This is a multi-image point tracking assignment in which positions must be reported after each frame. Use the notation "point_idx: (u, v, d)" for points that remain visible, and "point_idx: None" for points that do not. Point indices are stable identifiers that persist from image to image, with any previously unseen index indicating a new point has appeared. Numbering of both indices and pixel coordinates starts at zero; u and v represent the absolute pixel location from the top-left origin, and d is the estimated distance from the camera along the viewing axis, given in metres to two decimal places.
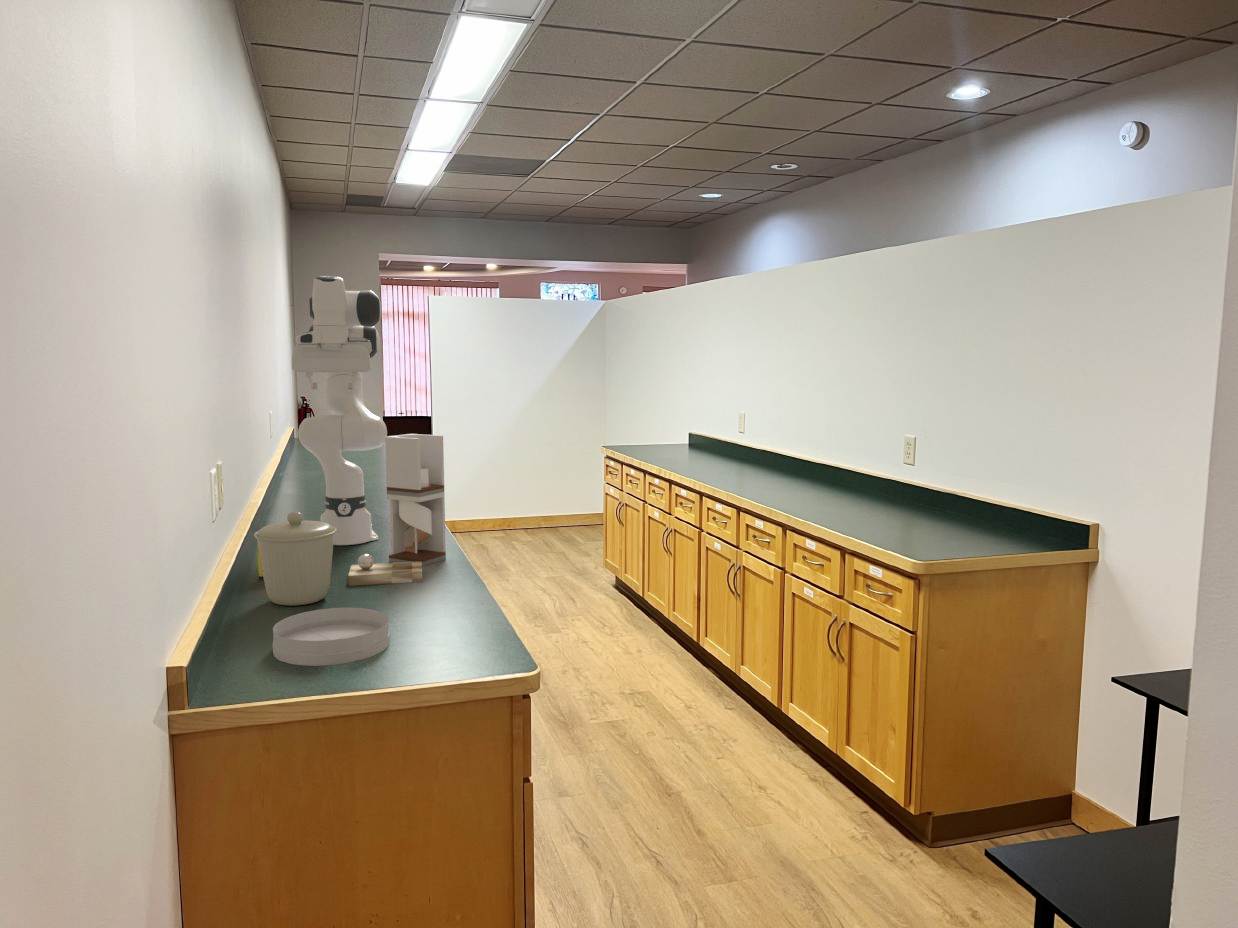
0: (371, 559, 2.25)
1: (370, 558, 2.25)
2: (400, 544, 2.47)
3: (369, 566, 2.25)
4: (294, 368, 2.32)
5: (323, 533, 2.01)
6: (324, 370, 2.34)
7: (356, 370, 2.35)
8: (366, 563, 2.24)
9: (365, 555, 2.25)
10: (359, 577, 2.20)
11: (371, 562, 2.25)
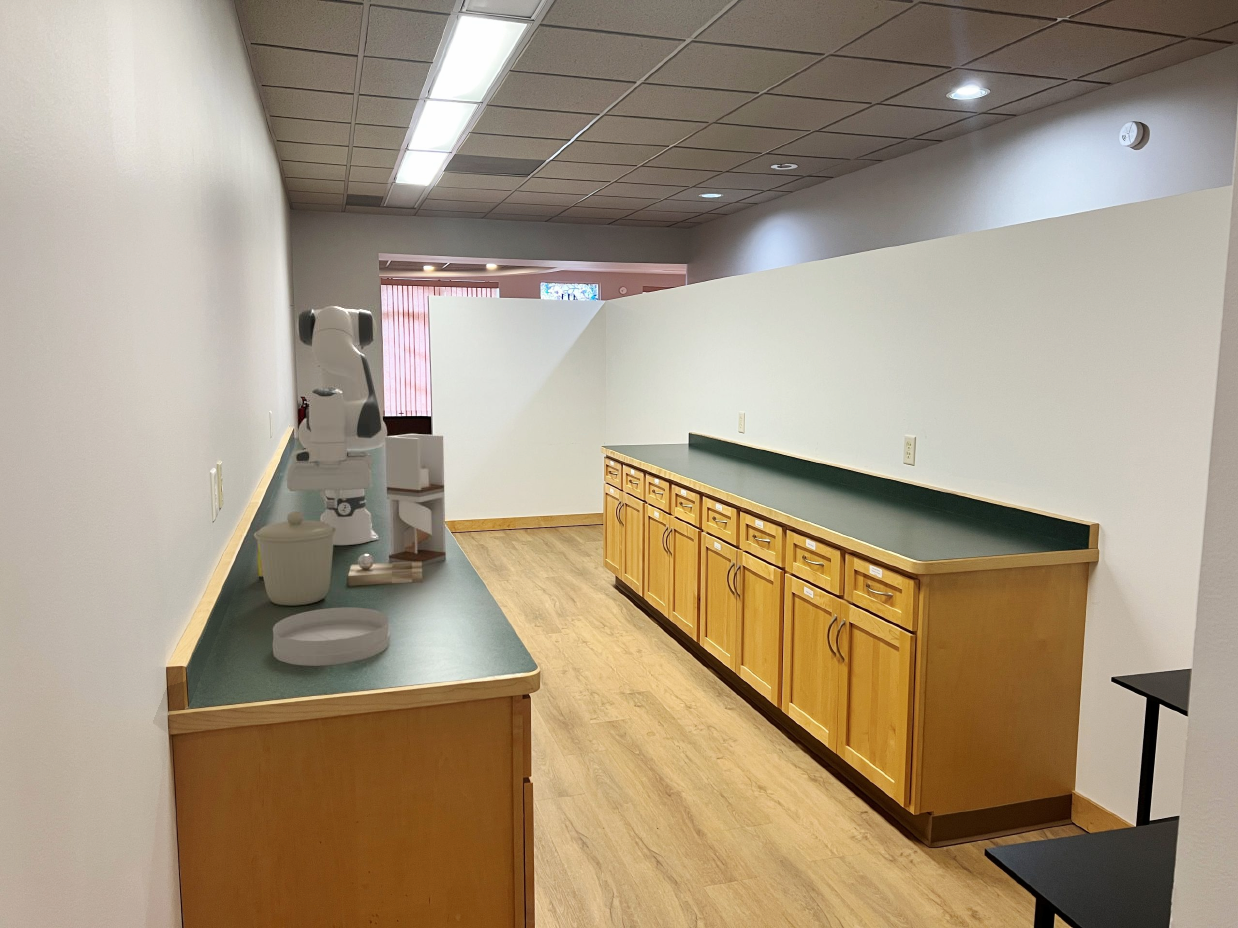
0: (371, 559, 2.25)
1: (370, 558, 2.25)
2: (400, 544, 2.47)
3: (369, 566, 2.25)
4: (290, 487, 2.17)
5: (323, 533, 2.01)
6: (322, 488, 2.19)
7: (356, 487, 2.21)
8: (366, 563, 2.24)
9: (365, 555, 2.25)
10: (359, 577, 2.20)
11: (371, 562, 2.25)
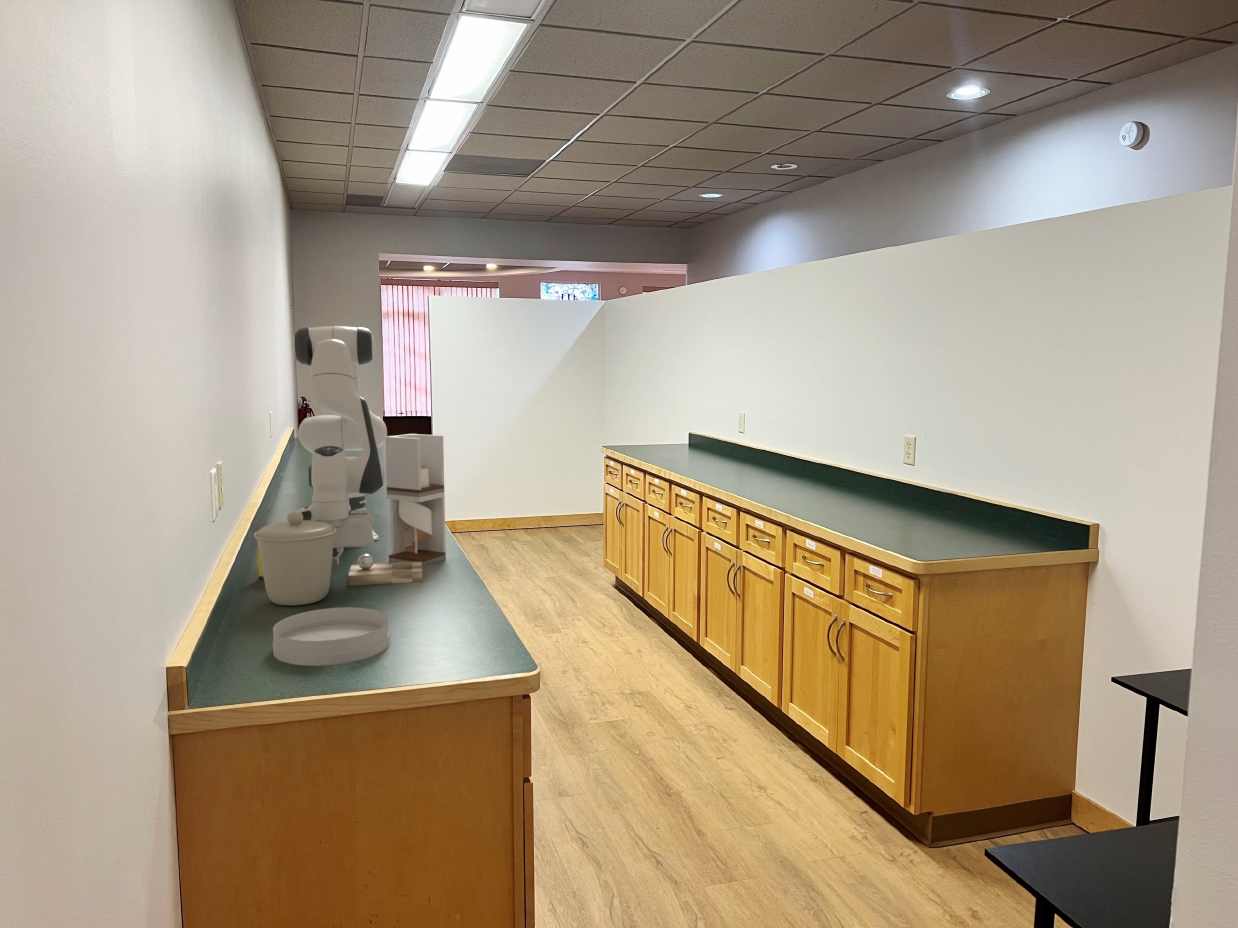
0: (371, 559, 2.25)
1: (370, 558, 2.25)
2: (400, 544, 2.47)
3: (369, 566, 2.25)
4: None
5: (323, 533, 2.01)
6: None
7: (358, 545, 2.23)
8: (366, 563, 2.24)
9: (365, 555, 2.25)
10: (359, 577, 2.20)
11: (371, 562, 2.25)
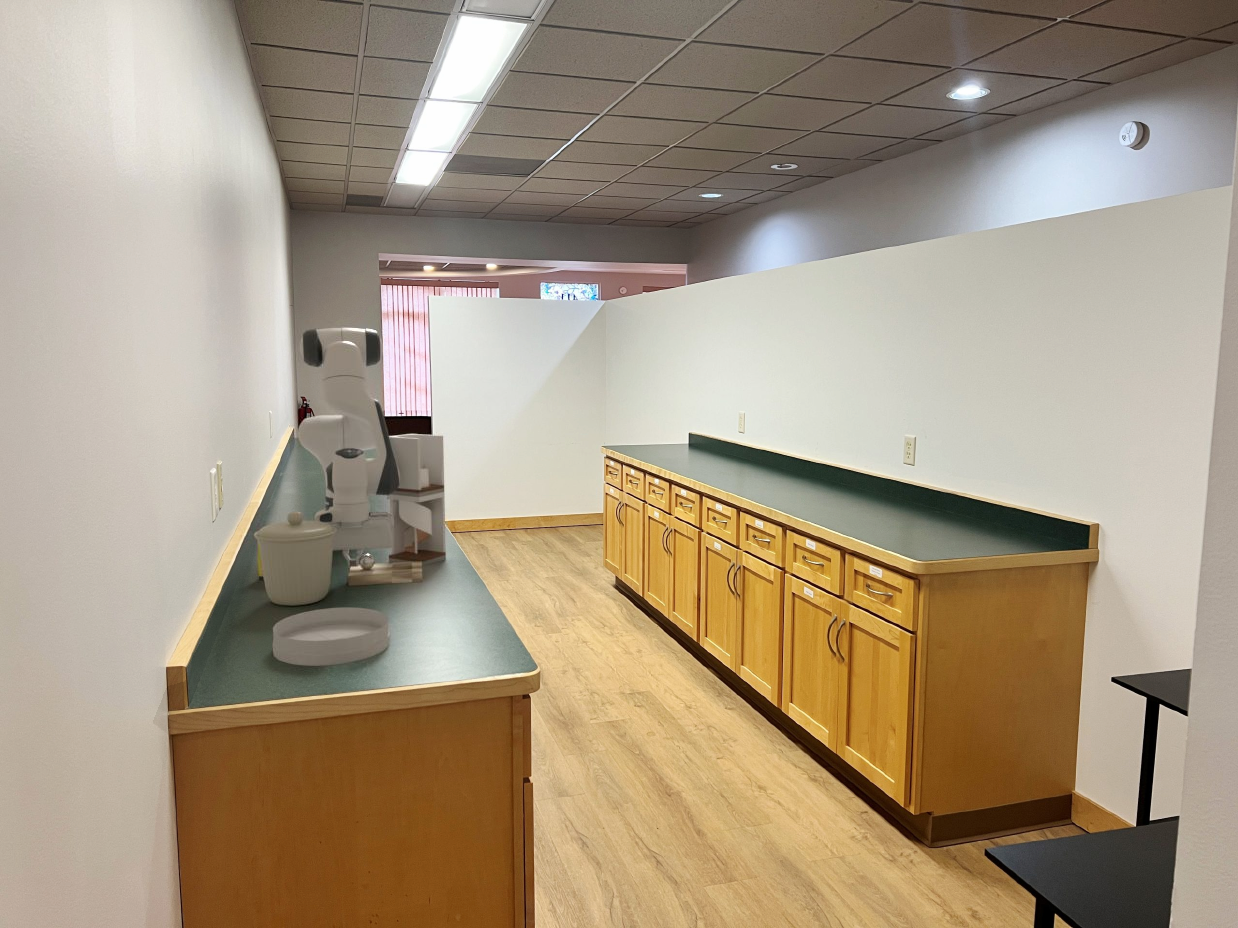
0: (373, 560, 2.25)
1: (372, 559, 2.25)
2: (400, 544, 2.47)
3: (370, 567, 2.25)
4: None
5: (323, 533, 2.01)
6: (344, 548, 2.22)
7: (378, 547, 2.24)
8: (367, 563, 2.24)
9: (367, 555, 2.25)
10: (359, 577, 2.20)
11: (372, 563, 2.25)
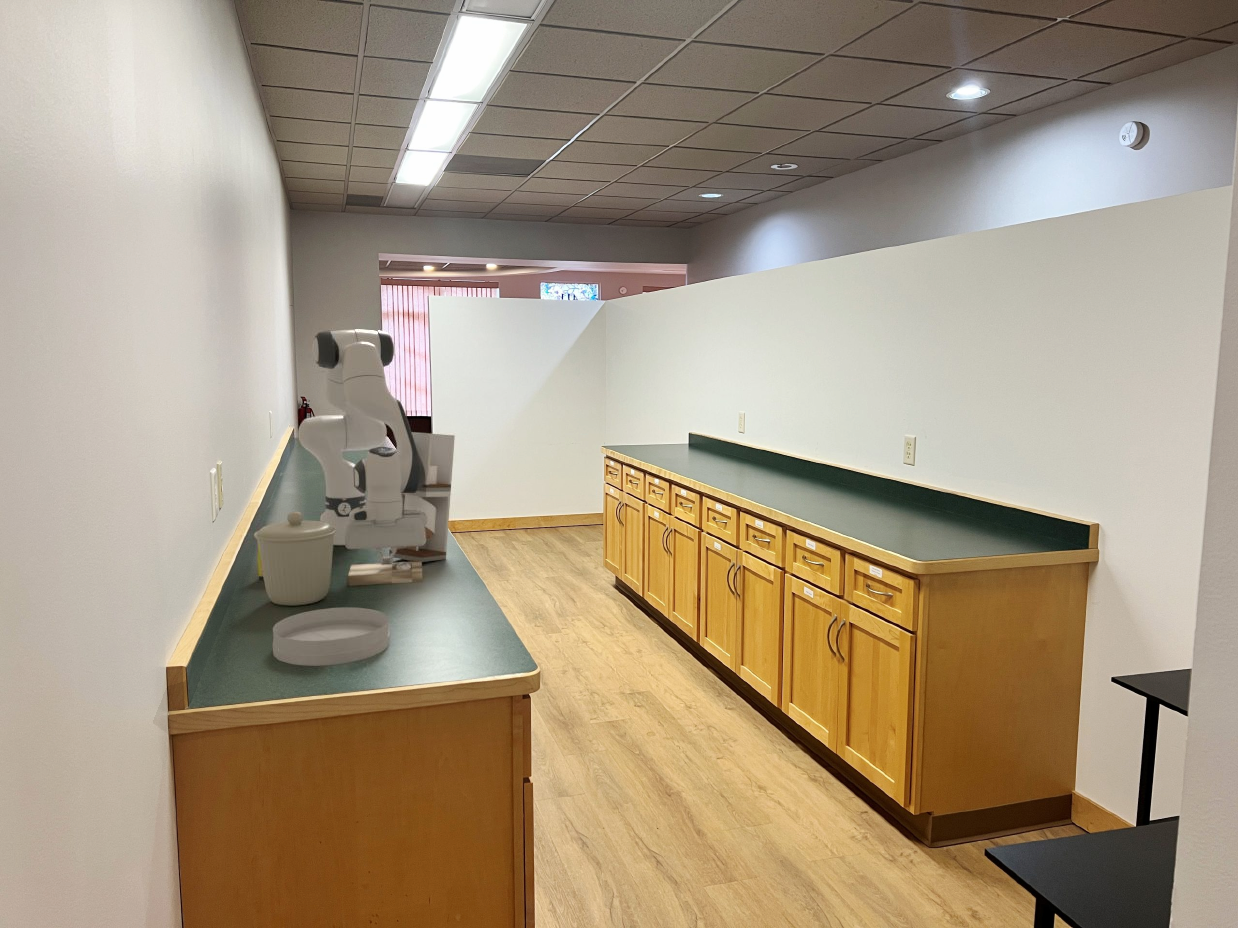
0: (406, 564, 2.27)
1: (404, 564, 2.27)
2: None
3: None
4: (347, 545, 2.22)
5: (323, 533, 2.01)
6: (378, 546, 2.24)
7: (411, 544, 2.26)
8: None
9: (398, 565, 2.27)
10: (359, 577, 2.20)
11: (408, 566, 2.27)
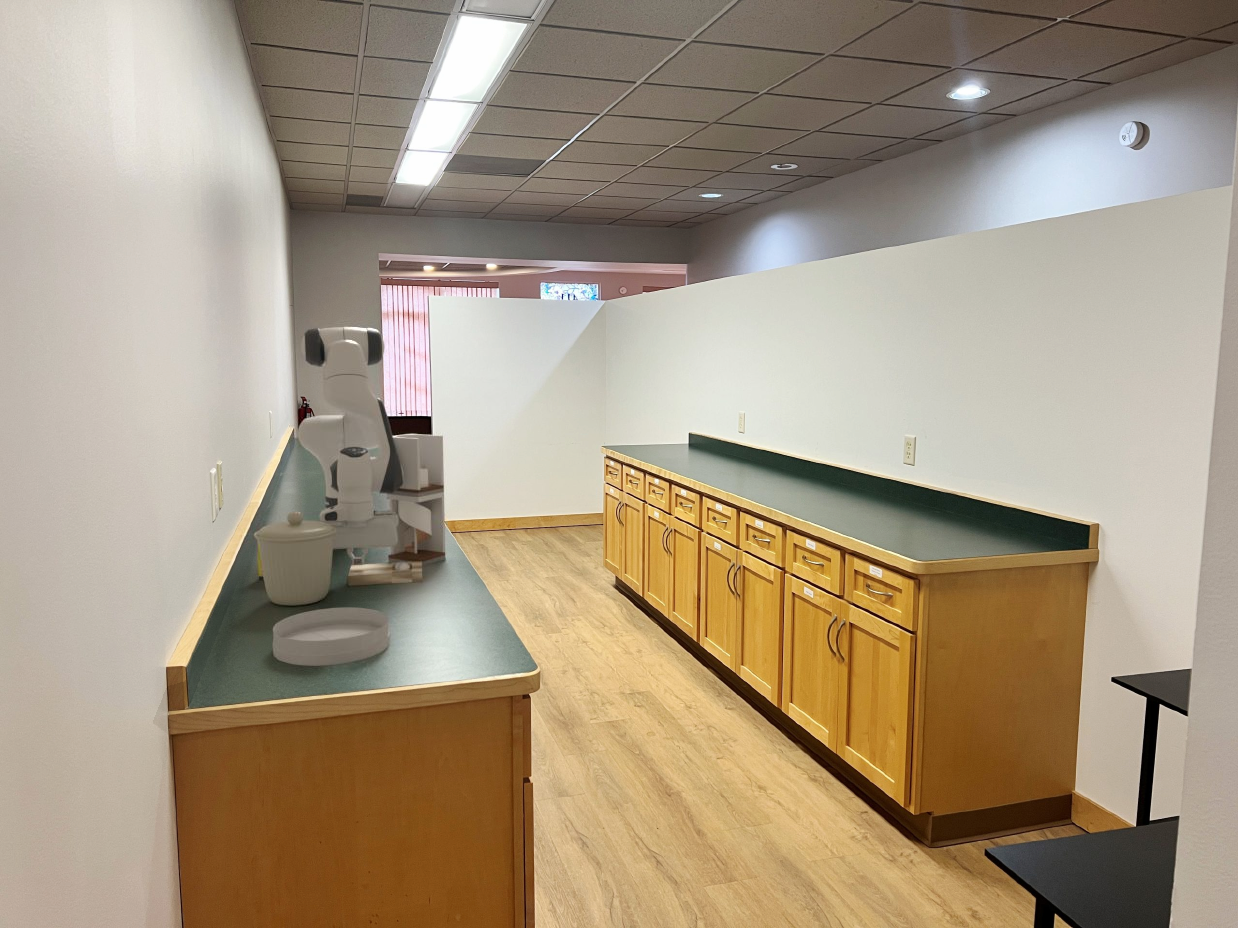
0: (403, 564, 2.27)
1: (402, 564, 2.27)
2: (400, 544, 2.47)
3: None
4: None
5: (323, 533, 2.01)
6: (349, 547, 2.23)
7: (382, 545, 2.25)
8: None
9: (396, 566, 2.27)
10: (359, 577, 2.20)
11: (405, 566, 2.27)
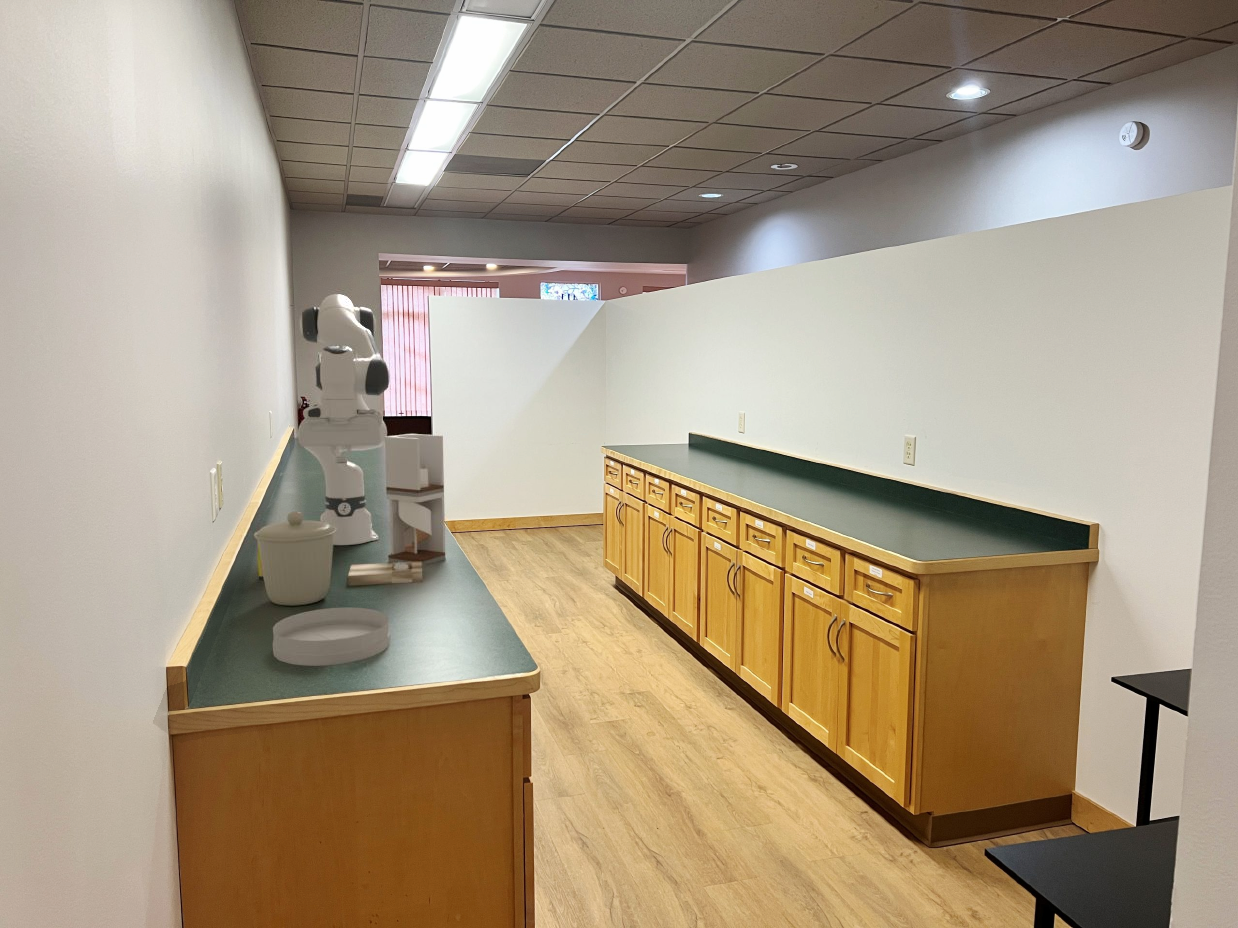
0: (401, 564, 2.27)
1: (399, 564, 2.27)
2: (400, 544, 2.47)
3: (406, 568, 2.27)
4: (301, 443, 2.23)
5: (323, 533, 2.01)
6: (332, 444, 2.25)
7: (366, 444, 2.27)
8: None
9: (394, 567, 2.27)
10: (359, 577, 2.20)
11: (403, 565, 2.27)
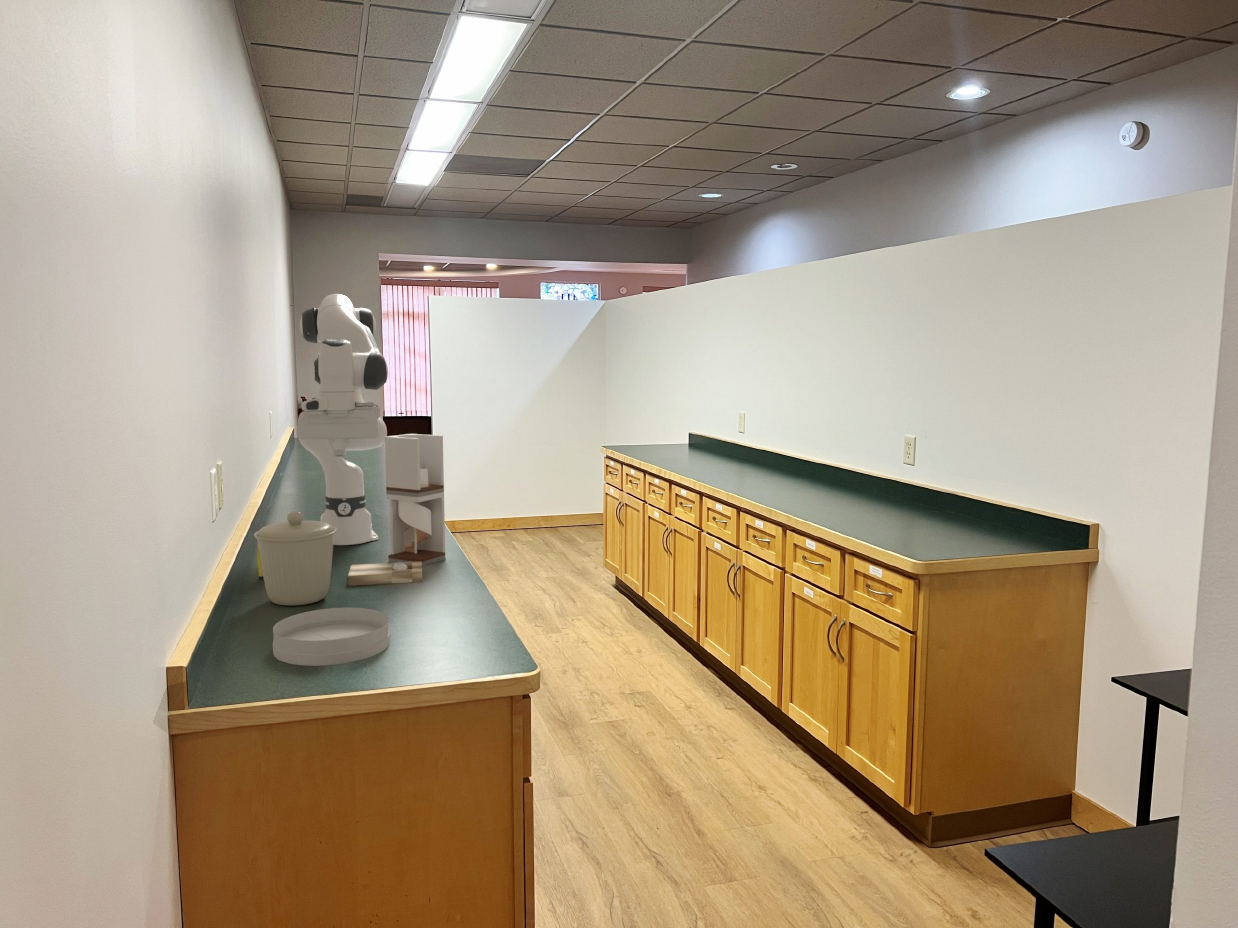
0: (399, 564, 2.27)
1: (397, 565, 2.27)
2: (400, 544, 2.47)
3: (405, 568, 2.27)
4: (300, 435, 2.23)
5: (323, 533, 2.01)
6: (331, 437, 2.25)
7: (364, 436, 2.27)
8: None
9: (393, 568, 2.27)
10: (359, 577, 2.20)
11: (402, 565, 2.27)
